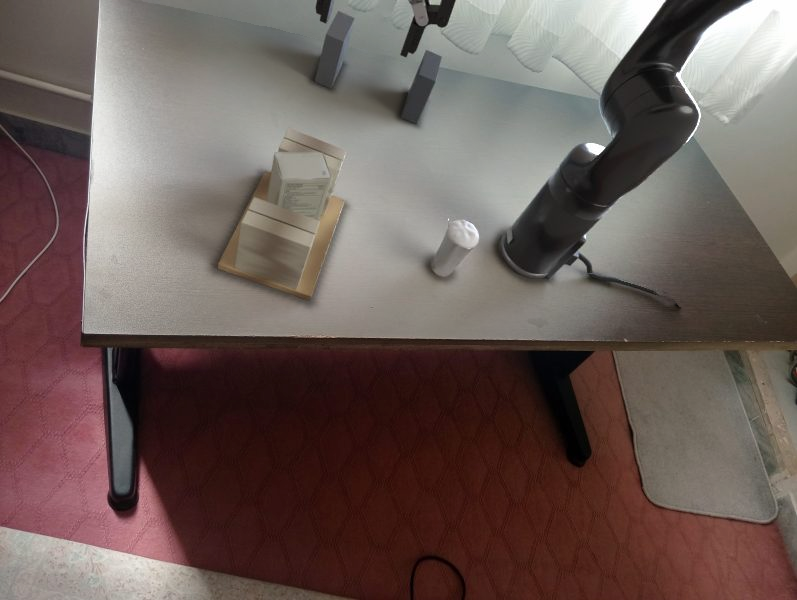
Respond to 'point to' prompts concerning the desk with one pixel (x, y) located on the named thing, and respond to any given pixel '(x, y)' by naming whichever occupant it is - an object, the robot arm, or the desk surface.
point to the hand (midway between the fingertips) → (365, 36)
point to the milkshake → (454, 247)
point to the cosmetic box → (299, 182)
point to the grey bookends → (335, 55)
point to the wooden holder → (285, 230)
